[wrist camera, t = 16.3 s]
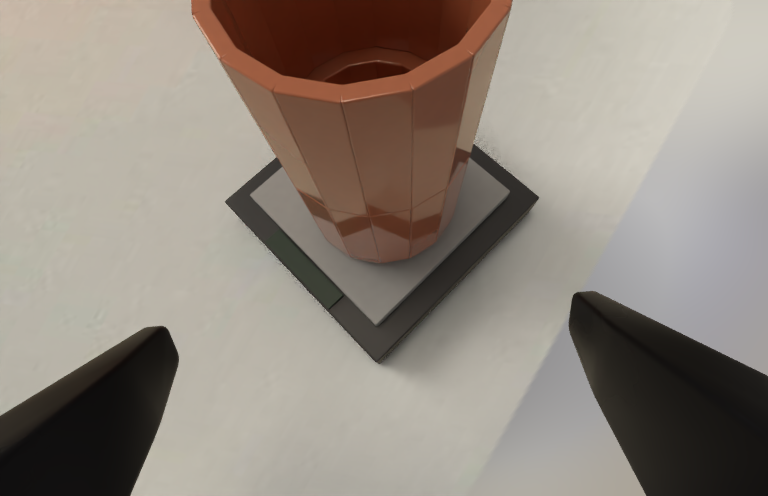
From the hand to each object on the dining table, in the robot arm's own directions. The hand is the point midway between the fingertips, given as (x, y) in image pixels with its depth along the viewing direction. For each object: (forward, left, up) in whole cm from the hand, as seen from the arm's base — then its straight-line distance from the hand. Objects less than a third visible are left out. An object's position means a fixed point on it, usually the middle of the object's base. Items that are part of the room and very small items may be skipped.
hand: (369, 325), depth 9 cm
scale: (+6, -5, -13) cm, 16 cm away
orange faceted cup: (+6, -5, -11) cm, 13 cm away
